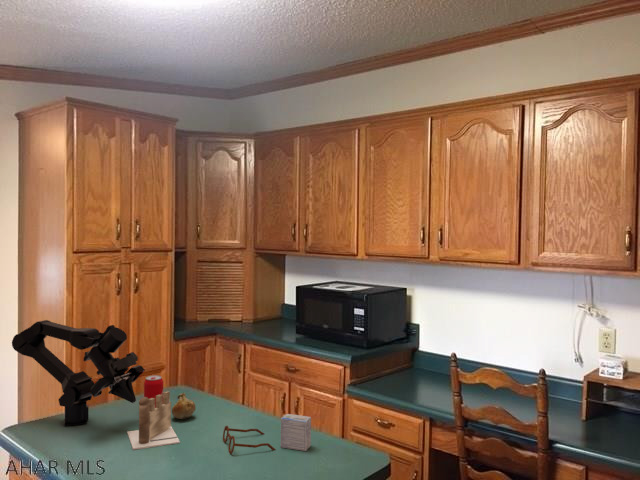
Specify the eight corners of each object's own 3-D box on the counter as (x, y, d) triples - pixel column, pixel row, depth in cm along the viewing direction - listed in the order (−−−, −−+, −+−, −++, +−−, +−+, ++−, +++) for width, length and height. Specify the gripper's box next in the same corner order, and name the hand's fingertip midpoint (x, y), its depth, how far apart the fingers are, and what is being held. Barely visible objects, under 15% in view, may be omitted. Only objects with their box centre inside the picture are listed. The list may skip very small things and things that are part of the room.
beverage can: (165, 410, 188) (166, 375, 188) (158, 416, 182) (159, 380, 182) (148, 409, 189) (148, 374, 189) (140, 415, 183) (141, 379, 182)
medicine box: (311, 446, 160) (311, 416, 160) (305, 452, 156) (306, 421, 155) (286, 442, 162) (286, 413, 162) (280, 447, 158) (280, 417, 158)
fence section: (149, 438, 161) (150, 400, 160) (146, 437, 161) (146, 400, 161) (170, 426, 171) (171, 390, 170) (167, 425, 171) (167, 390, 171)
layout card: (133, 449, 154) (133, 448, 154) (127, 432, 167) (127, 431, 167) (179, 443, 160) (179, 441, 160) (171, 426, 173) (171, 425, 173)
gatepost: (139, 446, 157) (139, 399, 157) (137, 442, 160) (138, 396, 160) (149, 444, 158) (150, 397, 158) (148, 440, 161) (149, 395, 161)
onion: (165, 420, 178) (166, 396, 178) (180, 413, 186) (181, 389, 186) (185, 424, 176) (185, 399, 175) (199, 416, 183) (200, 392, 183)
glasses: (221, 440, 164) (222, 423, 164) (264, 435, 169) (264, 419, 169) (230, 457, 152) (231, 439, 152) (276, 451, 156) (276, 434, 156)
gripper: (98, 351, 160) (129, 393, 157) (139, 340, 178) (168, 377, 174) (76, 376, 163) (107, 417, 159) (119, 362, 180) (147, 399, 177)
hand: (134, 401), depth 167 cm, fingers closed
